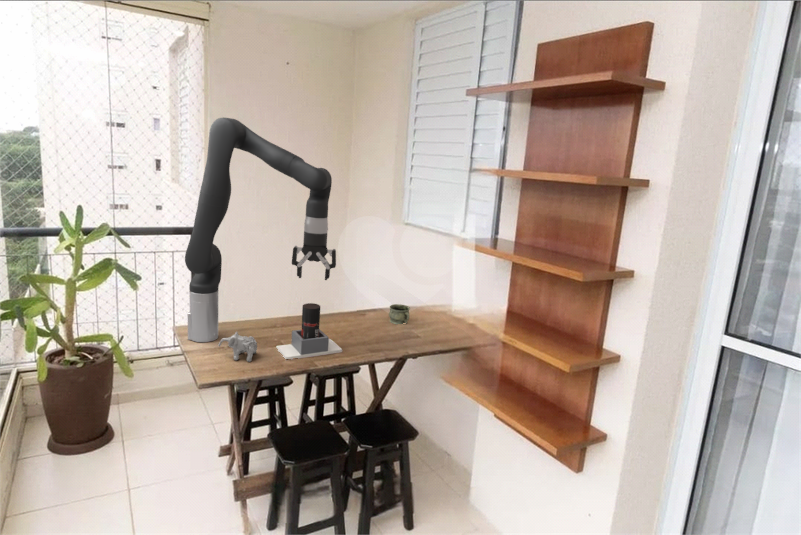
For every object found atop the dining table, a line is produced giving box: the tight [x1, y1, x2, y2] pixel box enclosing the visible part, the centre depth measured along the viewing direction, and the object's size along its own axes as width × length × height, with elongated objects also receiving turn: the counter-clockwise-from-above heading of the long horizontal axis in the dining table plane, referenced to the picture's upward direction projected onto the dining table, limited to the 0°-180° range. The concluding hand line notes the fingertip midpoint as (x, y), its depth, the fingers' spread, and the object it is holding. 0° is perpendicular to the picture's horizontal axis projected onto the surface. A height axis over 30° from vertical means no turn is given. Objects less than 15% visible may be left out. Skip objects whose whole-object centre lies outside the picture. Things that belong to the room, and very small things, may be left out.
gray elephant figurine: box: [217, 331, 258, 363], centre depth 162 cm, size 9×12×8 cm
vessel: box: [388, 303, 411, 325], centre depth 209 cm, size 12×9×6 cm
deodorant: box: [300, 302, 321, 339], centre depth 171 cm, size 6×6×15 cm
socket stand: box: [275, 328, 343, 360], centre depth 172 cm, size 20×10×6 cm, turn 121°
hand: (313, 278), depth 167 cm, fingers open, 8 cm apart
